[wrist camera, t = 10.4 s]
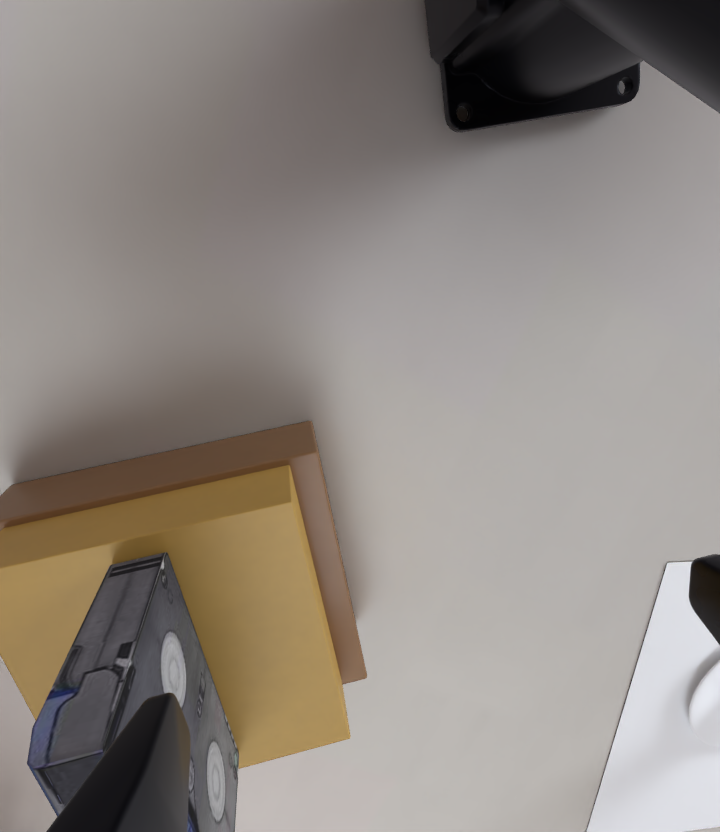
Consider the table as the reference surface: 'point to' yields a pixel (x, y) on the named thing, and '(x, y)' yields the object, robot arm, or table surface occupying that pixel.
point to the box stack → (197, 577)
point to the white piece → (667, 726)
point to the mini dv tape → (136, 692)
